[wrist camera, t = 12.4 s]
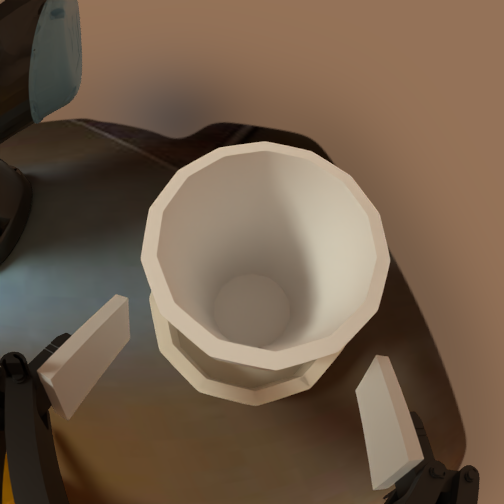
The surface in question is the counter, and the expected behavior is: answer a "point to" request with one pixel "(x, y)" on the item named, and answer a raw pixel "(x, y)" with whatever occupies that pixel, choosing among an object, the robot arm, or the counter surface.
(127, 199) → the counter surface
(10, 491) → the figure statuette
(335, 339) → the foam cup
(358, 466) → the counter surface
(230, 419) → the counter surface
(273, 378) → the dish
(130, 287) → the counter surface
